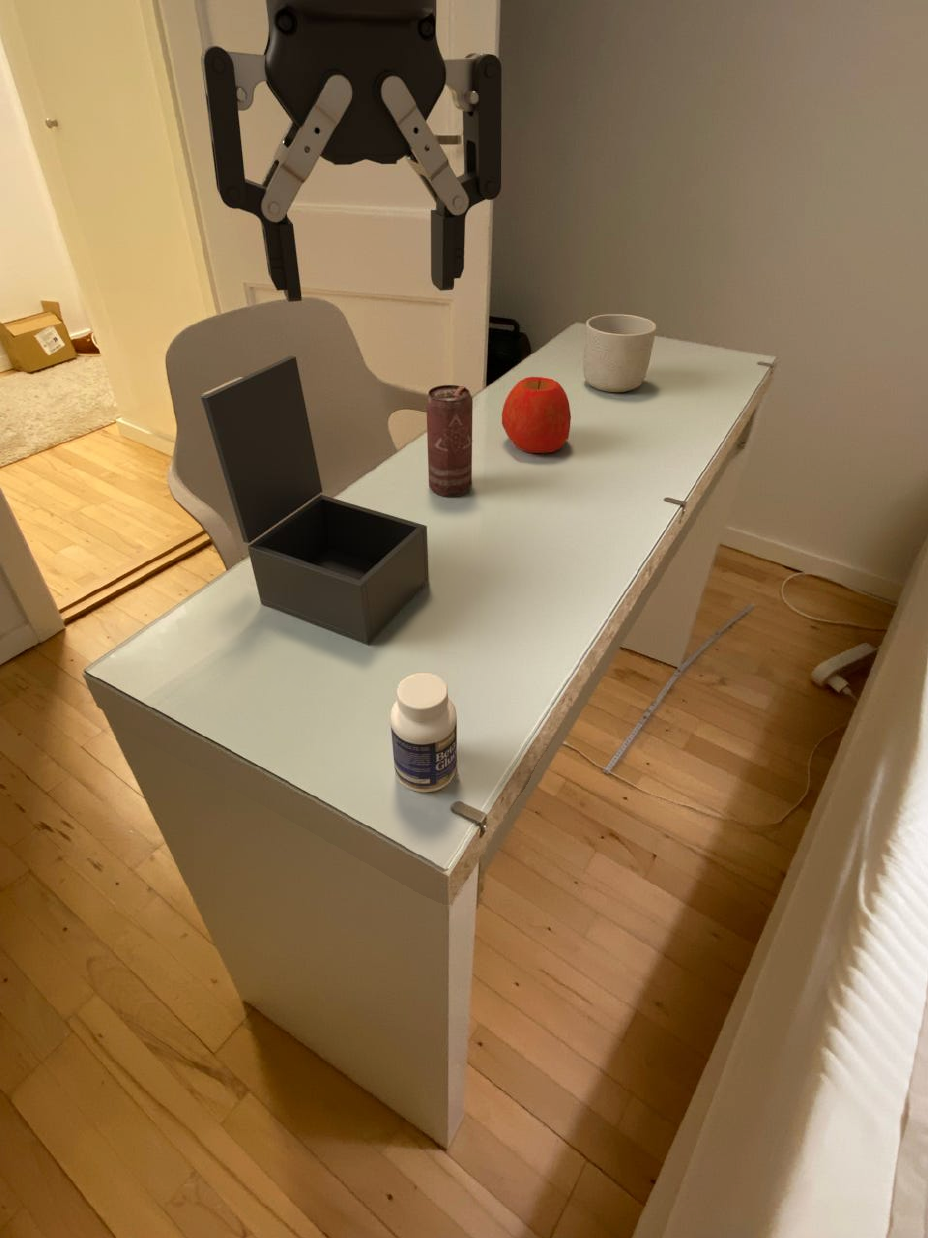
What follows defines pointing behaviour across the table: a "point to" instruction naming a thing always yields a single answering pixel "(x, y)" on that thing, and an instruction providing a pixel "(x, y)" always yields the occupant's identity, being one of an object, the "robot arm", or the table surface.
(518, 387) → the apple
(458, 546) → the table surface
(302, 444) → the upright box lid
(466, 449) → the can
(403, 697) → the pill bottle
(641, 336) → the planter
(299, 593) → the hinged lid box
